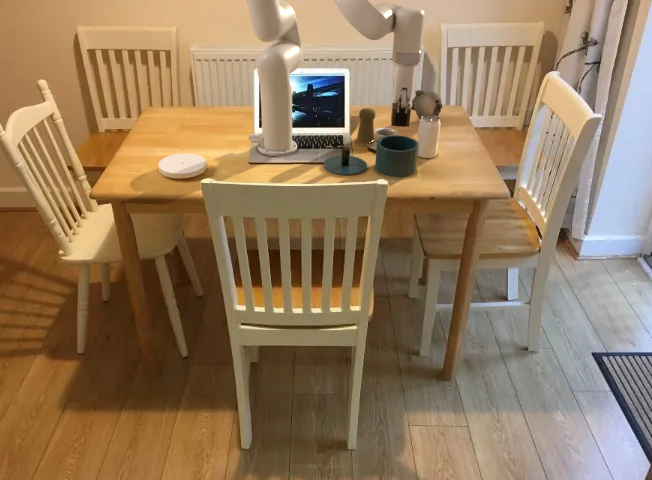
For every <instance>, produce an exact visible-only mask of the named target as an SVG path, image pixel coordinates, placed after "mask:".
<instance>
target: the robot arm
mask: <svg viewBox="0 0 652 480" xmlns="http://www.w3.org/2000/svg"><path fill="white" fill-rule="evenodd" d="M333 2H334V3H335V5H336V6H337V8H338V10H339V12H340V13H341V15H342V16H343V18H344V19H345V20H346V21H347V23H349V24H350V25H351V26H352V27H353V28H354V29H355V30H356V31H357V32H358V33H359V34H360V35H361V36H363V37H364V38H366V39H367V40H370V41H371V40H372V41H378V40H381V39H383V38H384V37H385V36H387V35H388V34H391V33H393V42H392V43H393V44H392V54H391V63H392V64H393V65H394V69H393V70H394V71H393V78H392V79H393V80H392V88H391V95H392V97H391V98H392V103H398V104H397V112H396V117H395V126H394V127H402V128H405V127H407V126H406V123H407V106H408V103H411V102H412V94H413V87H414V79H415V71H416V67H417V66H420V64H421V57H422V46H423V45H422V44H423V37H424V27H425V19H426V17H425V15H426V14H425V11H424V9H423V8H421V7H418V6H402V5H398V4H394V3H391V2H381V3H379V4H376V5H375V6H374V5H373V4H372V3H371V2H370V1H369V0H333ZM247 6H248V10H249V15H250V19H251V24H252V28H253V32H254V34H255V37H256V38H257V39H258V40H259V41H261V42H263V43H270V42H271V43H272V45H270V46H268V47H266V48H265V49H264V50H263V51H262V52H261V53H260V54H259V56H258V59H257V62H256V70H257V71H256V72H257V76H258V81H259V91H260V108H261V109H260V111H261V114H260V115H261V133H259V134H251V133H249V134H248V141H251V142H250V143H251V144H257V150H258V152H259V153H261V154H263V155H265V156H270V157H277V156H285V155H286V156H287V155H290V154H292V153H294V152H296V151H297V149H298V143H297V142H296V141H294V140H293V91H292V84H291V80H290V75H291V74H292V73H293V72H294V71H296V70H297V69H298V68H299V67H300V66H301V64H302V63H303V59H304V50H303V49H304V48H303V43H302V39H301V33H300V28H299V27H300V26H299V22H298V18H297V14H296V11H295V10H294V8H293V7H292V5H291V4H290V3H288V2H287V1H285V0H247ZM400 104H401V105H400ZM399 106H400V107H399Z"/></svg>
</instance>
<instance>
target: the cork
mask: <svg viewBox="0 0 652 480" xmlns="http://www.w3.org/2000/svg"><path fill="white" fill-rule="evenodd" d="M358 117H359V120H360V121H359V125H358V130H357V136H356V142H357V143H359V144H362V145H372V144H373V143H375V141H373V142H371V141H372V140H375V126H374V125H375V123H374V120H375V118H376V111H375V109H373V108H371V107H370V108H369V107H363V108H362V109H360V110H359V113H358ZM369 142H370V143H369Z"/></svg>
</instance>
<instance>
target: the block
mask: <svg viewBox="0 0 652 480" xmlns="http://www.w3.org/2000/svg"><path fill="white" fill-rule="evenodd" d="M397 104H398V103H396V102H392V104H391V115H390V125H391V127H396V126H395V117H396V112H397ZM400 105H401V104H400ZM399 107H400V106H399ZM411 107H412V105H411V102H409V103H408V106H407V123H406V126H405V127H407V128H408V127H410V123H411V122H410V121H411V112H412V110H411Z"/></svg>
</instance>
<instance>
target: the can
mask: <svg viewBox="0 0 652 480" xmlns="http://www.w3.org/2000/svg"><path fill="white" fill-rule="evenodd" d="M440 120H441V118H440V116H439V115H438V116H436V115H423V116H422V117H421V120H420V119H419V121H418V129H417V136H416V137H417V138H416V141H417V142H418V145H419V147H418V155H417V158H421V159H433V158H435V157H436V156H437V152H438V145H439V139H440V132H441V131H440V130H441V121H440Z"/></svg>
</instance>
